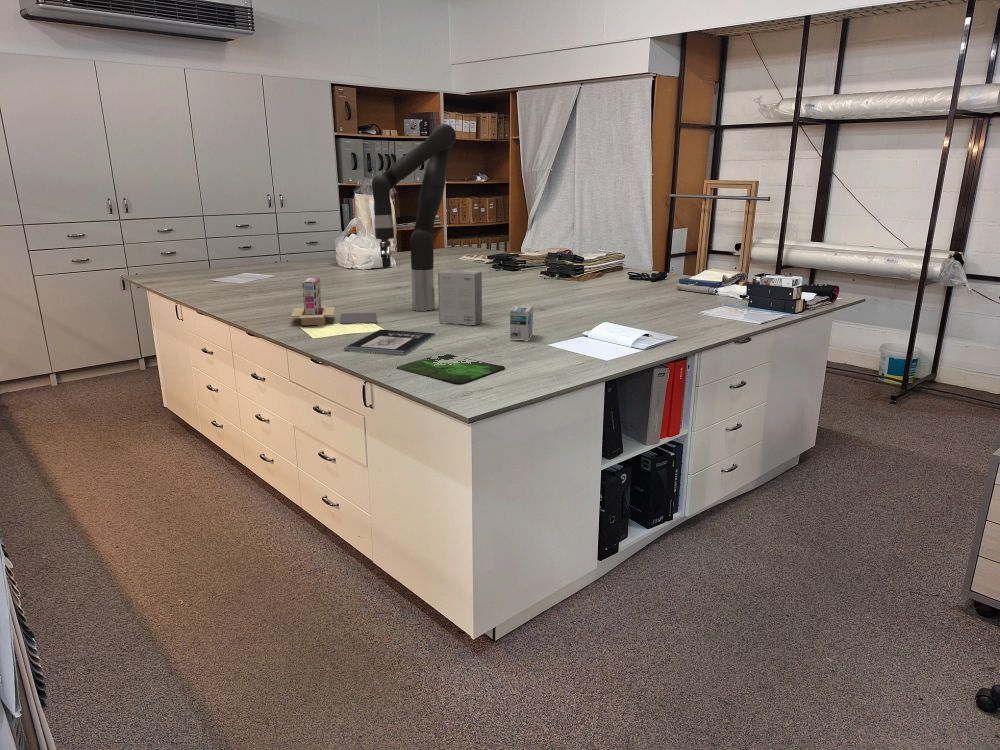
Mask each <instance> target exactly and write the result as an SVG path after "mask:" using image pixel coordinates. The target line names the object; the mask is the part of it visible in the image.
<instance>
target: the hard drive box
mask: <svg viewBox="0 0 1000 750" xmlns="http://www.w3.org/2000/svg"><path fill="white" fill-rule="evenodd" d="M437 277H438V279H437V280H438V281H437V282H438V283H437V285H438V312H439V313H438V314H439V315H438V316H439V318H438V319H439V320H438V321H439V322H445V323H444V324H446V323H458V324H457V325H459V324H468V325H467V326H471V325H475V326H478V325H479V324H481V323H482V322H483V289H482V288H483V285H482V283H483V280H482V277H483V274H482V271H477V270H476V271H475V270H454V269H452V270H451V269H445V270H442V271H439V272H437ZM480 322H481V323H480ZM478 323H479V324H478ZM477 324H478V325H477Z"/></svg>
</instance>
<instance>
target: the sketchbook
mask: <svg viewBox="0 0 1000 750" xmlns="http://www.w3.org/2000/svg"><path fill="white" fill-rule="evenodd" d="M433 335H435V336H436V333H435V332H423V331H409V330H408V331H407V330H396V329H378V330H376V331H374V332H372V333H370V334H368V335H366V336H364V337H363V338H361V339H358V340H356V341H354V342H353V343H350V344H348V345H347V346H344V347H343V350H346V351H347V350H348V351H347V352H351V351H352V352H353V351H354V352H355V351H358V352H357V353H359V351H363V352H364V353H365V352H366V353H367V354H369V352H370V354H379V355H381V353H384V354H383V355H385V354H386V355H390V356H391V355H392V356H401V357H402V356H407V355H408V354H410V353H411V352H412V350H413V351H414V350H416V349H417V348H418V347H420V346H421V345H423V344H424V343H426V342H427V341H429V340H430V339H432V338H433V337H434V336H433ZM432 336H433V337H432ZM431 337H432V338H431ZM429 338H430V339H429ZM428 339H429V340H428ZM426 340H427V341H426ZM425 341H426V342H425ZM422 343H423V344H422ZM349 350H351V351H349ZM346 351H345V352H346ZM363 352H362V353H363ZM371 352H373V353H371Z"/></svg>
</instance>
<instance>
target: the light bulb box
mask: <svg viewBox="0 0 1000 750" xmlns="http://www.w3.org/2000/svg"><path fill="white" fill-rule="evenodd" d="M533 321H534V306H533V305H519V304H515V305H514V306H513V307H512V308H511V309H510V311H509V340H510V339H523V340H528V339H529V338H530V336H531V335H532V336H533V327H534V326H533V324H534V322H533ZM532 336H531V337H532ZM530 339H531V338H530ZM530 339H529V340H530ZM529 340H528V341H529Z"/></svg>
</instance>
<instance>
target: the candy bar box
mask: <svg viewBox="0 0 1000 750" xmlns="http://www.w3.org/2000/svg"><path fill="white" fill-rule="evenodd" d="M321 292H322V291H321V278H320V277H307V278H306V279H305V280H303V281H302V296H303V308H304V315H322V310H321V306H322V293H321Z"/></svg>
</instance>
